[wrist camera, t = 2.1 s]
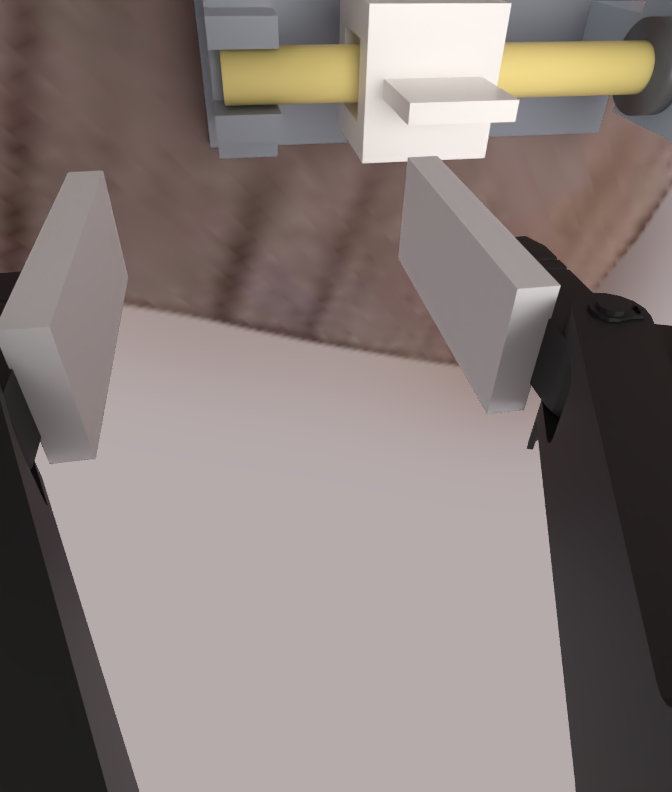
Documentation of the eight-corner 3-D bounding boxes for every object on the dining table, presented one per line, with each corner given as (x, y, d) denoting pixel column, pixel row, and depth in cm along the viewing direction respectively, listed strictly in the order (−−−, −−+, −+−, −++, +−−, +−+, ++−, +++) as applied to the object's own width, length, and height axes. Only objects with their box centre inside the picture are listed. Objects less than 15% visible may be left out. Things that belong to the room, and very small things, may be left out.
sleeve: (337, 125, 32) (382, 195, 24) (340, -14, 28) (395, 18, 20) (443, 121, 33) (519, 188, 25) (460, -14, 29) (556, 17, 21)
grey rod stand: (210, 142, 37) (215, 219, 28) (184, -84, 30) (179, -78, 21) (591, 128, 41) (701, 191, 32) (647, -75, 34) (809, -67, 25)
